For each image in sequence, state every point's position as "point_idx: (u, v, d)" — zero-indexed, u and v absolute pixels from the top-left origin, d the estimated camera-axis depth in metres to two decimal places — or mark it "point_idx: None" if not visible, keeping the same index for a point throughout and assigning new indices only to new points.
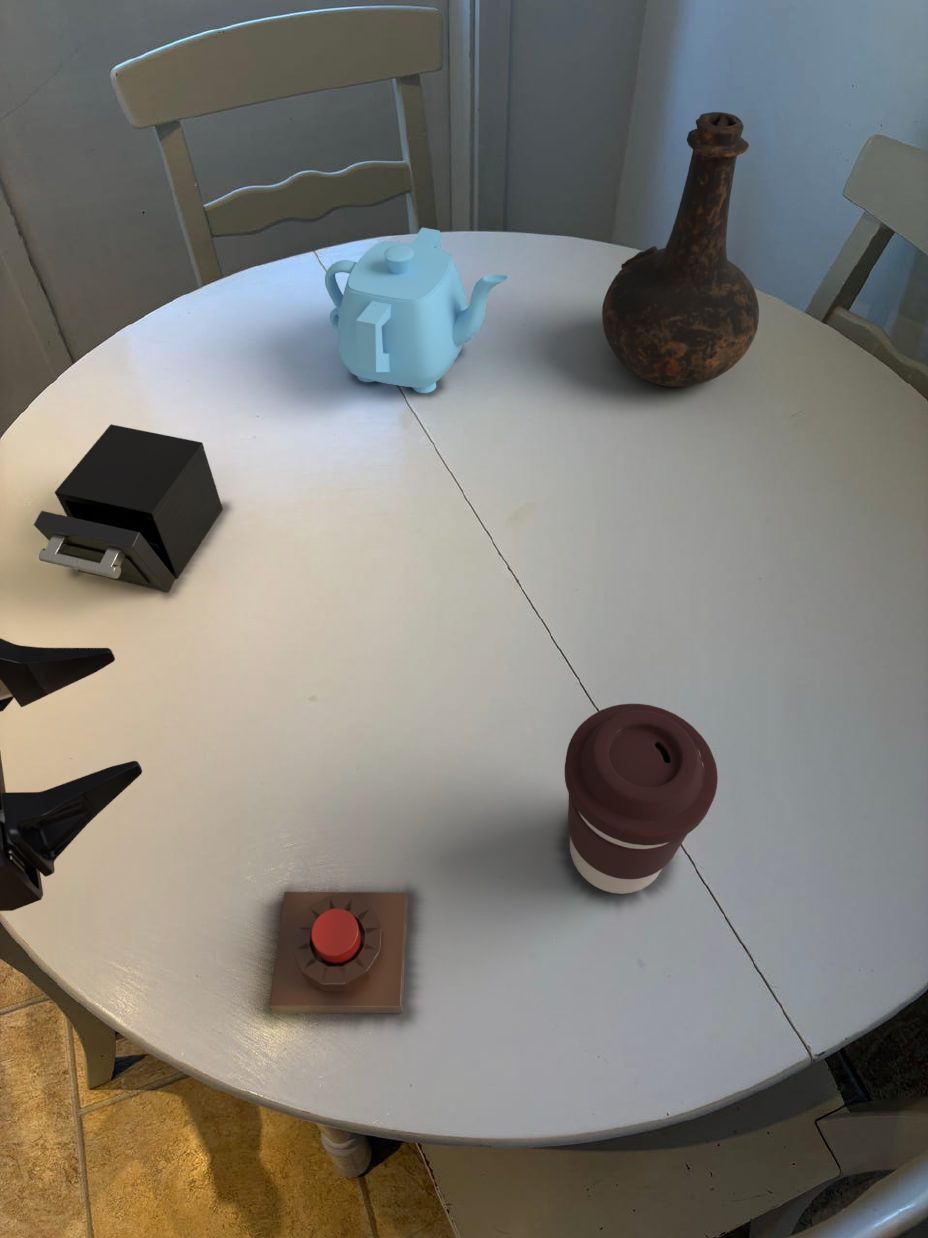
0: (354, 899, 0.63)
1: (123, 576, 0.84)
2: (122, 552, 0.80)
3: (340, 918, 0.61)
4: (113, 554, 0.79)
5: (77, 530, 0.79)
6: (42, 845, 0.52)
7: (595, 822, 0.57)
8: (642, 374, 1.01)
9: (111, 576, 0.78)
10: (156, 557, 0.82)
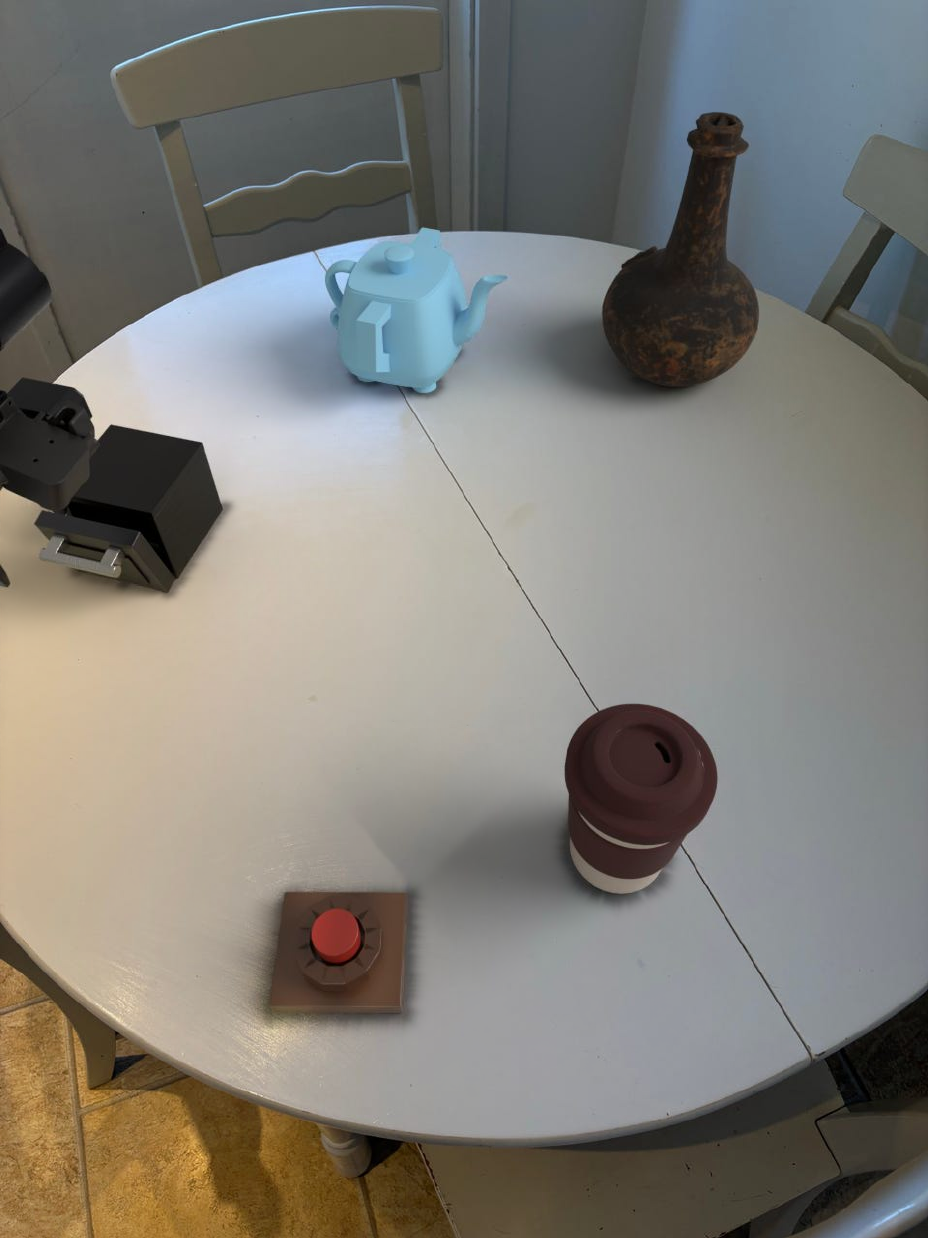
0: (354, 899, 0.63)
1: (123, 576, 0.84)
2: (122, 551, 0.80)
3: (340, 918, 0.61)
4: (113, 553, 0.79)
5: (77, 529, 0.79)
6: None
7: (595, 822, 0.57)
8: (642, 374, 1.01)
9: (111, 575, 0.78)
10: (156, 557, 0.82)
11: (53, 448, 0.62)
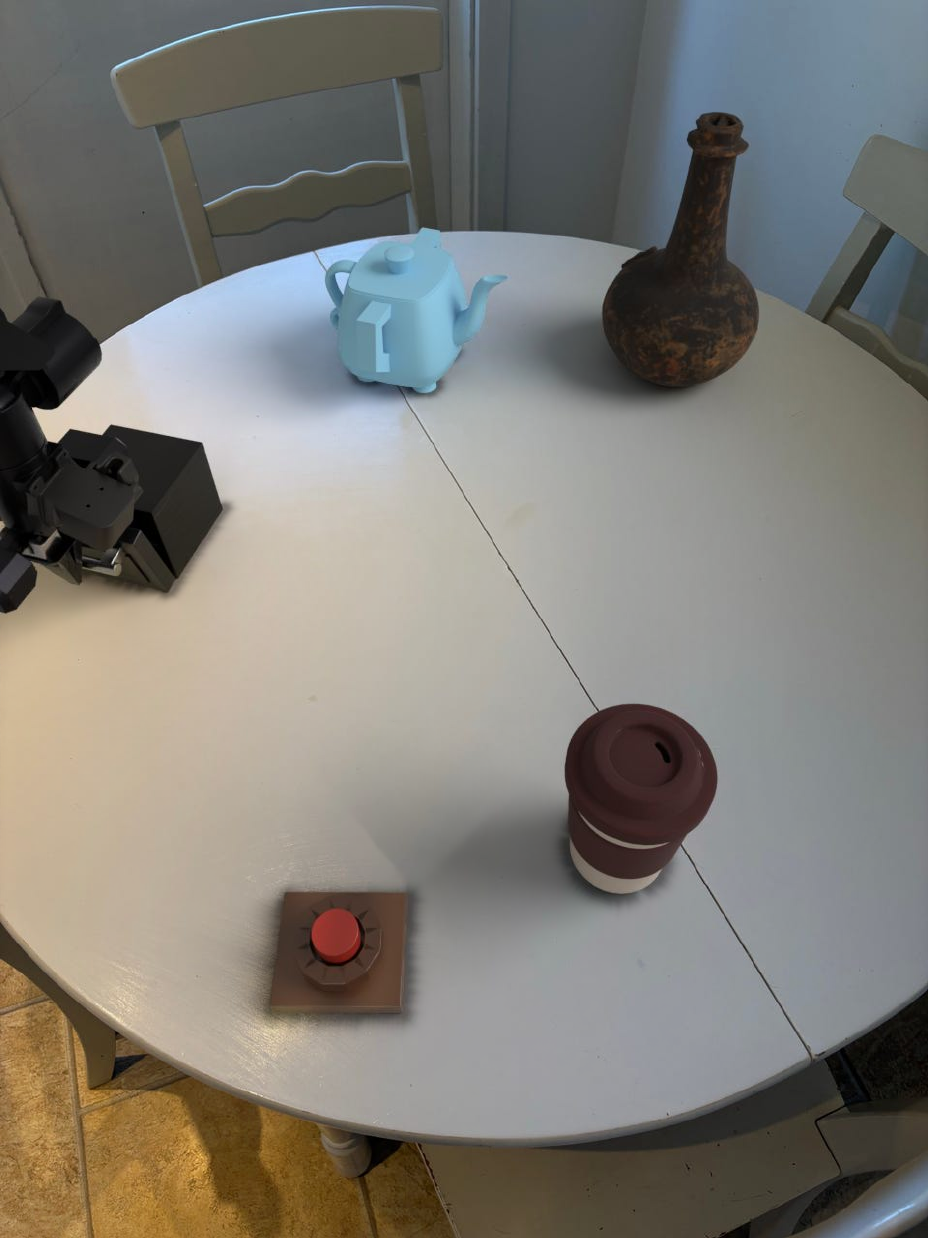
0: (354, 899, 0.63)
1: (123, 575, 0.84)
2: (123, 550, 0.80)
3: (340, 918, 0.61)
4: (114, 552, 0.79)
5: None
6: None
7: (595, 822, 0.57)
8: (642, 374, 1.01)
9: (112, 573, 0.78)
10: (156, 556, 0.82)
11: (103, 495, 0.69)
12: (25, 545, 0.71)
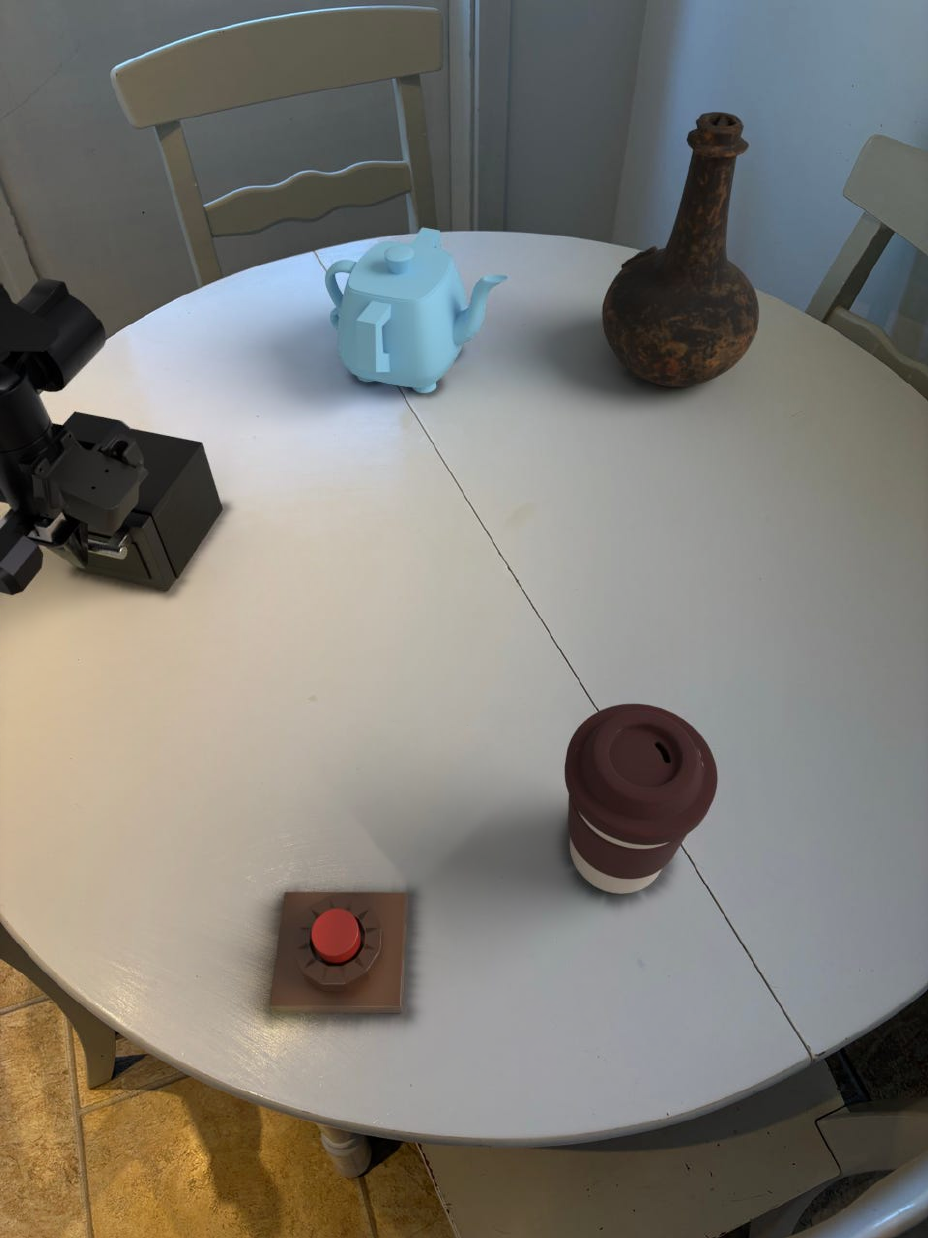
0: (354, 899, 0.63)
1: (124, 571, 0.85)
2: (130, 536, 0.80)
3: (340, 918, 0.61)
4: (121, 536, 0.79)
5: None
6: None
7: (595, 822, 0.57)
8: (642, 374, 1.01)
9: (117, 555, 0.78)
10: (161, 549, 0.83)
11: (108, 476, 0.69)
12: (31, 528, 0.71)
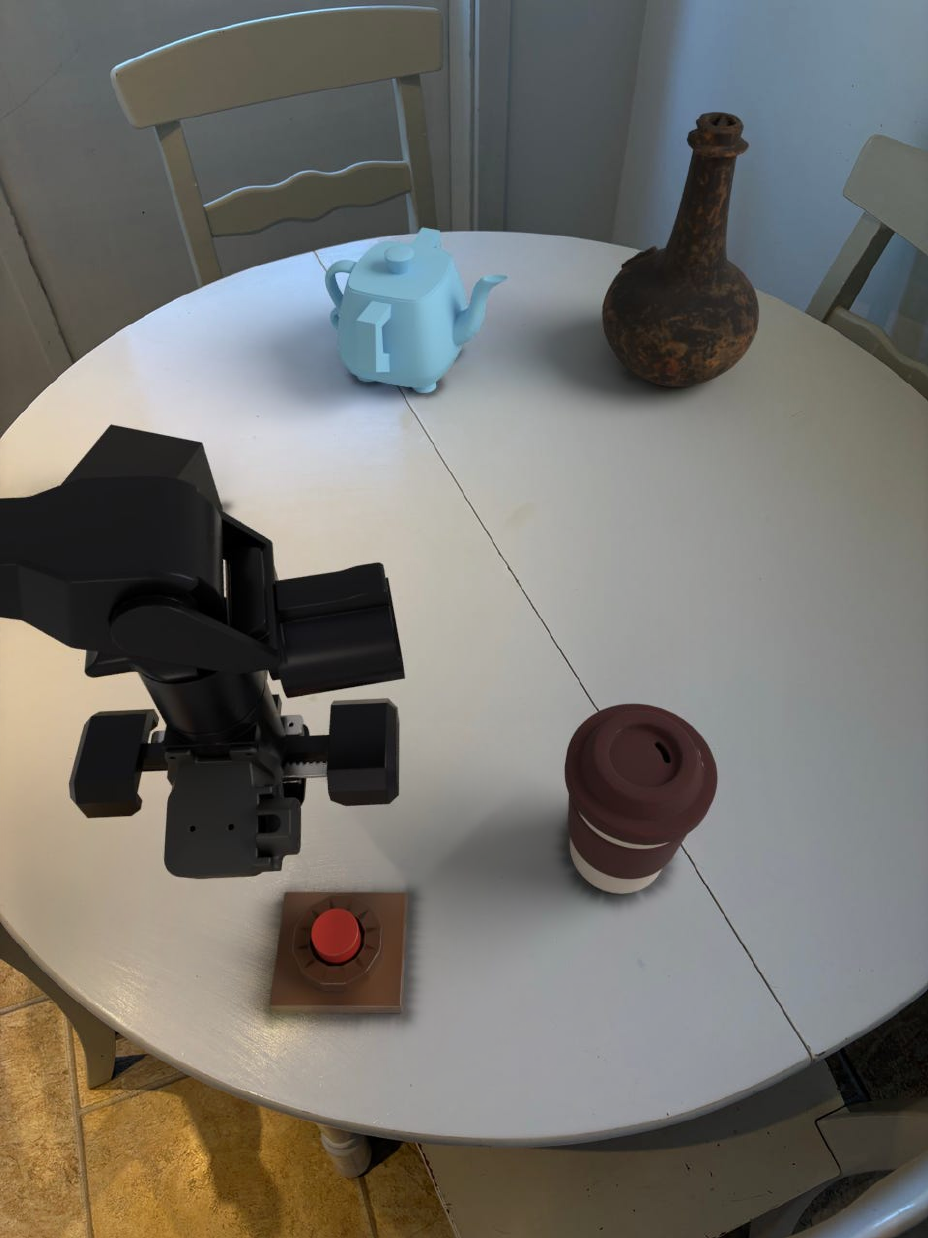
0: (354, 899, 0.63)
1: None
2: None
3: (340, 918, 0.61)
4: None
5: None
6: None
7: (595, 822, 0.57)
8: (642, 374, 1.01)
9: None
10: None
11: (221, 836, 0.46)
12: None
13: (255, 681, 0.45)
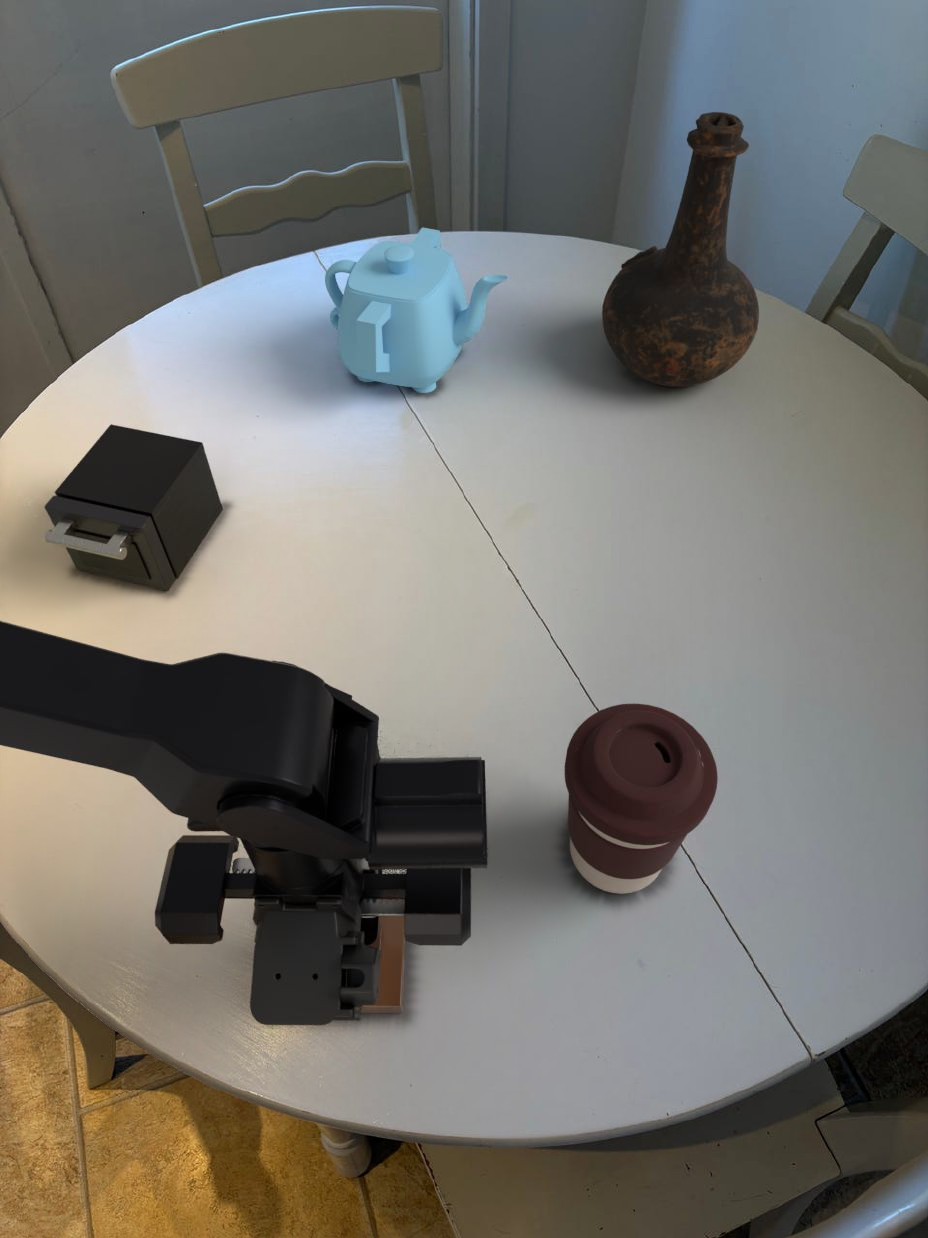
0: None
1: (124, 571, 0.85)
2: (130, 537, 0.80)
3: None
4: (121, 536, 0.79)
5: (87, 512, 0.80)
6: None
7: (595, 822, 0.57)
8: (642, 374, 1.01)
9: (117, 556, 0.78)
10: (161, 549, 0.83)
11: (305, 985, 0.47)
12: None
13: None
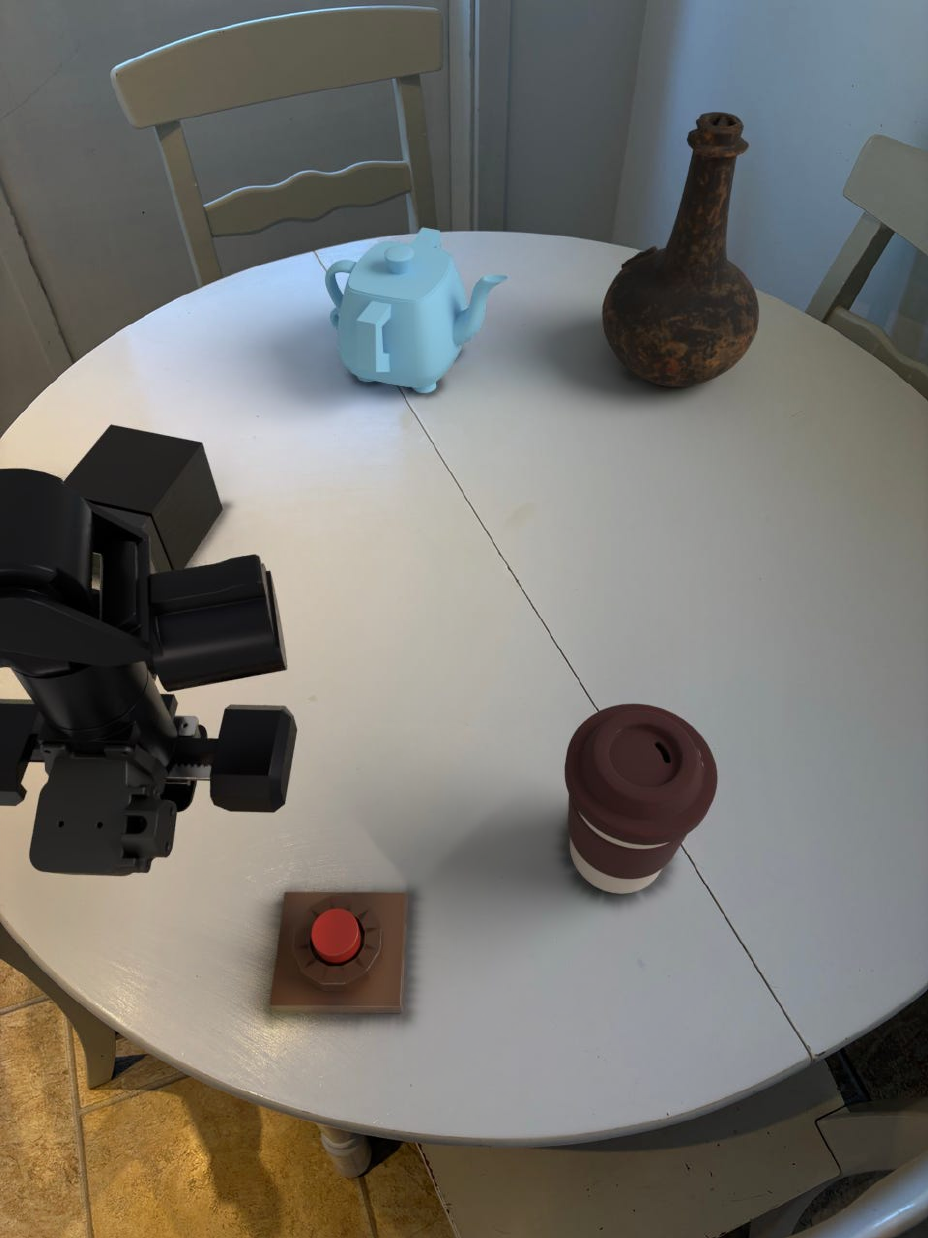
0: (354, 899, 0.63)
1: None
2: None
3: (340, 918, 0.61)
4: None
5: None
6: None
7: (595, 822, 0.57)
8: (642, 374, 1.01)
9: None
10: (161, 549, 0.83)
11: (89, 833, 0.46)
12: None
13: (135, 675, 0.45)
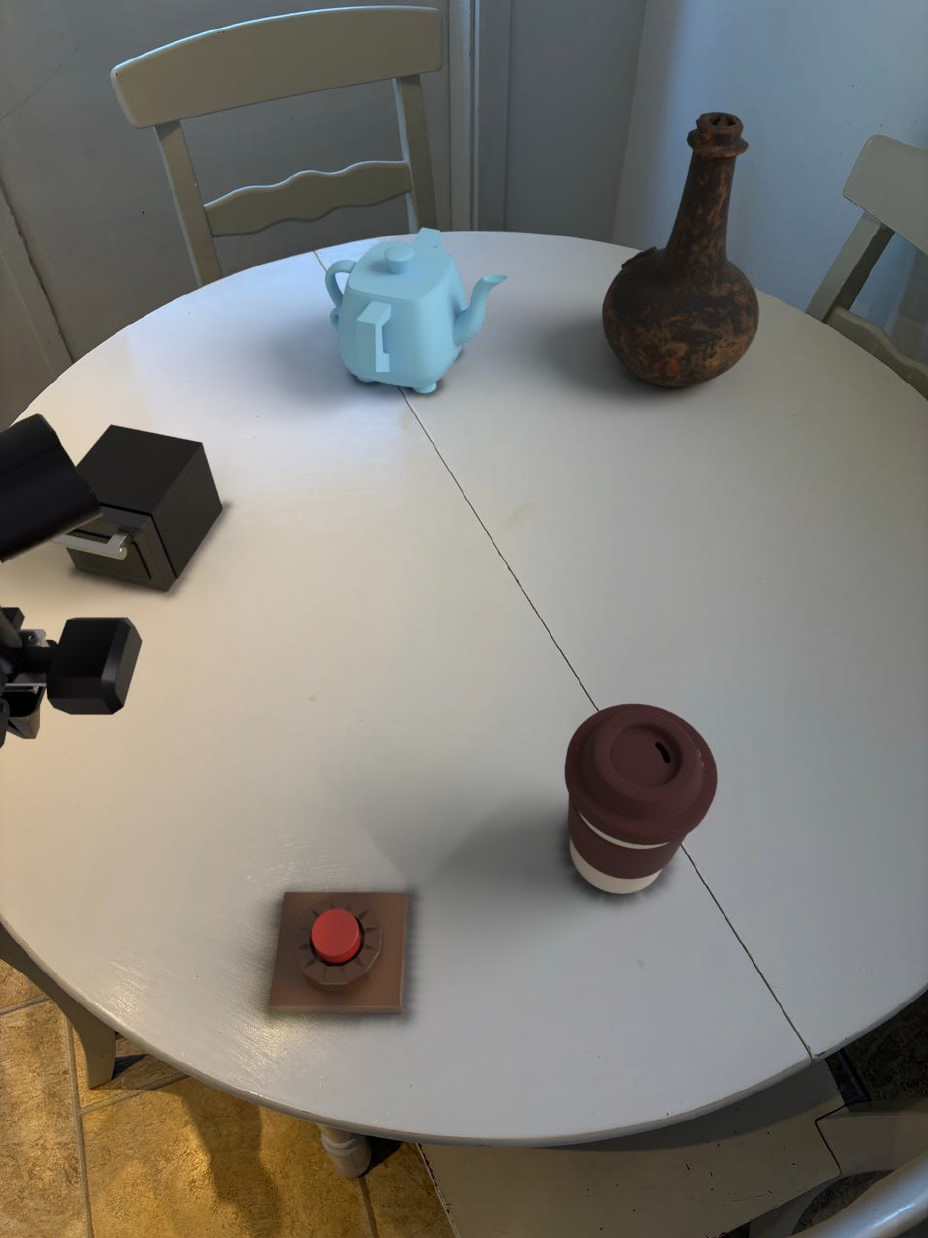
0: (354, 899, 0.63)
1: (124, 571, 0.85)
2: (130, 537, 0.80)
3: (340, 918, 0.61)
4: (121, 536, 0.79)
5: None
6: None
7: (595, 822, 0.57)
8: (642, 374, 1.01)
9: (117, 556, 0.78)
10: (161, 549, 0.83)
11: None
12: None
13: None
